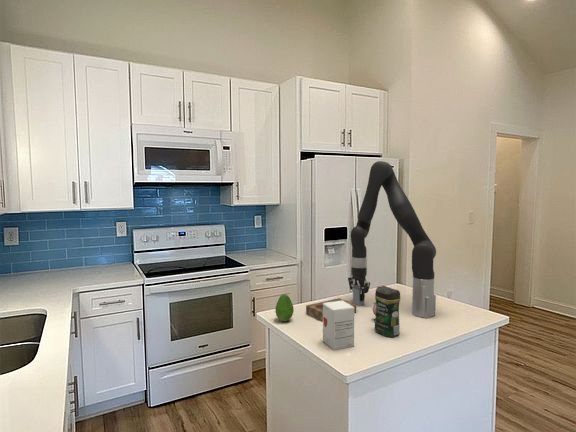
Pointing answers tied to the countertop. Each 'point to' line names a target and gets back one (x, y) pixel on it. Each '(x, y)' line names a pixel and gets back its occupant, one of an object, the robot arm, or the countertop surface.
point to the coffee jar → (387, 311)
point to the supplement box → (338, 324)
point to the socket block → (317, 308)
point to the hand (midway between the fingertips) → (358, 299)
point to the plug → (357, 295)
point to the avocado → (284, 308)
